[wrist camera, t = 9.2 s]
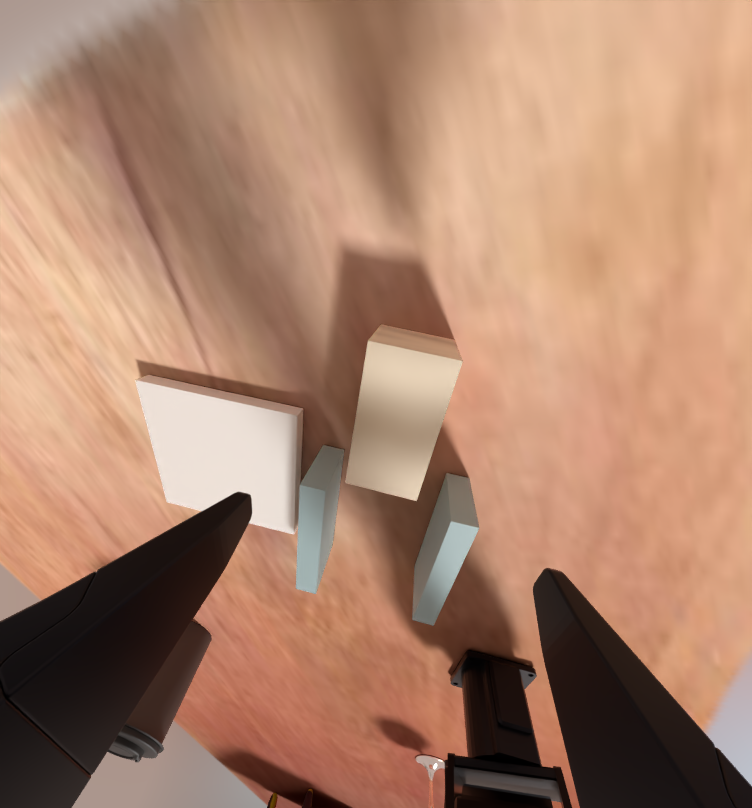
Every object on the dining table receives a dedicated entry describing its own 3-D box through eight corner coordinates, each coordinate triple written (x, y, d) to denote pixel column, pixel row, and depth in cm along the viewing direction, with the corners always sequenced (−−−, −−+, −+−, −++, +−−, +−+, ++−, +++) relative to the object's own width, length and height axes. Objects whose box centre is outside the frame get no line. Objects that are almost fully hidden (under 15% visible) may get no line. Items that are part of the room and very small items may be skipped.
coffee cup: (232, 651, 36) (169, 776, 27) (182, 647, 38) (108, 762, 29) (202, 613, 33) (118, 740, 24) (149, 610, 35) (54, 728, 26)
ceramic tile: (299, 524, 23) (293, 534, 22) (176, 493, 24) (166, 502, 23) (303, 408, 18) (297, 415, 17) (148, 374, 19) (134, 379, 18)
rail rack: (432, 570, 23) (433, 625, 20) (315, 540, 24) (295, 588, 20) (469, 477, 19) (479, 528, 15) (323, 444, 19) (299, 484, 16)
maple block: (418, 456, 19) (416, 501, 15) (360, 442, 19) (344, 483, 15) (454, 338, 15) (462, 360, 12) (381, 323, 15) (368, 340, 12)
